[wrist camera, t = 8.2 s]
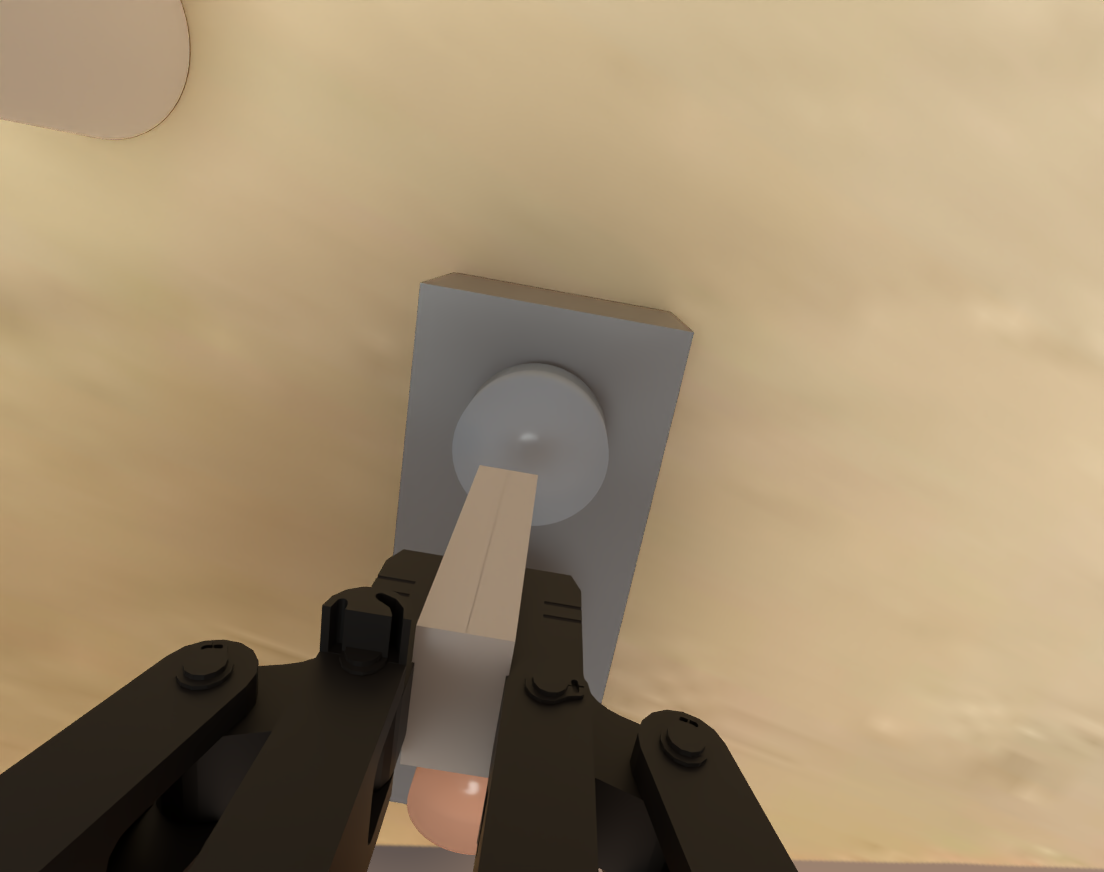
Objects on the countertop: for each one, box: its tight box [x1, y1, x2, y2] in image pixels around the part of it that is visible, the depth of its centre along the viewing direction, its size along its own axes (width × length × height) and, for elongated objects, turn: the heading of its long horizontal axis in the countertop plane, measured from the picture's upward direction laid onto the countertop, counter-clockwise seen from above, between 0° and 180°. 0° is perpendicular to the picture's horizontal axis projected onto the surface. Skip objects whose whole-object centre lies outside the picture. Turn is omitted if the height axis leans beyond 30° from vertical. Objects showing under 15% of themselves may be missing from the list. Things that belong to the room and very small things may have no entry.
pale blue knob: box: [452, 363, 609, 526], centre depth 23 cm, size 5×5×7 cm
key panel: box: [389, 273, 694, 804], centre depth 28 cm, size 10×25×6 cm, turn 170°
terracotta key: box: [407, 767, 488, 855], centre depth 29 cm, size 5×5×7 cm
